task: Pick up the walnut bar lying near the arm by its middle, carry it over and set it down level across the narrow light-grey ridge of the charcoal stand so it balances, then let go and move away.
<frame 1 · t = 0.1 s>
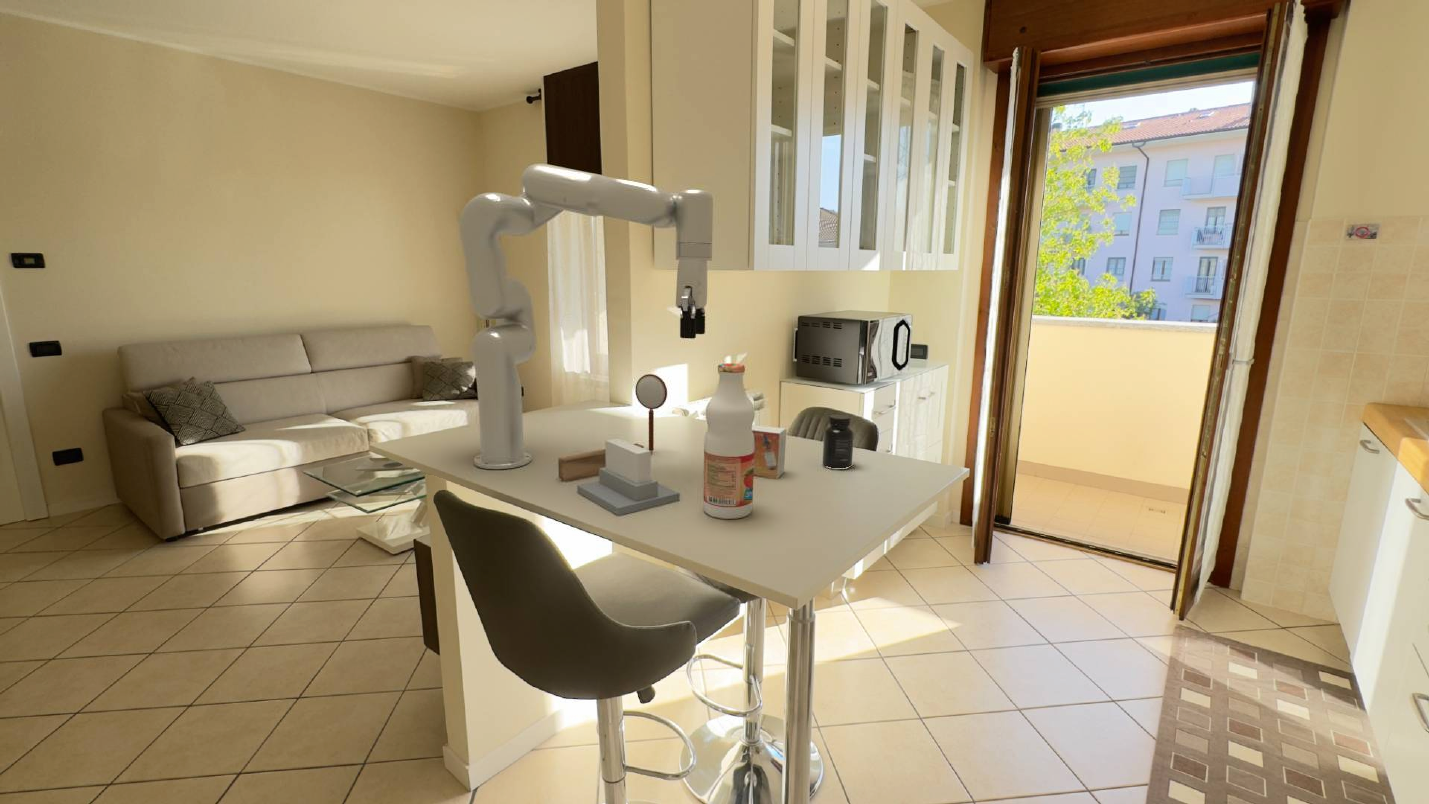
hand: (692, 336, 136), 31 cm above the table, tool pointing down, fingers open, 9 cm apart
fruit juice: (727, 511, 123), on the table
small box: (764, 474, 146), on the table
magnifying glass: (651, 454, 160), on the table
ridge stand: (627, 496, 129), on the table
supplement bottle: (836, 467, 153), on the table
walnut bar: (602, 473, 145), on the table
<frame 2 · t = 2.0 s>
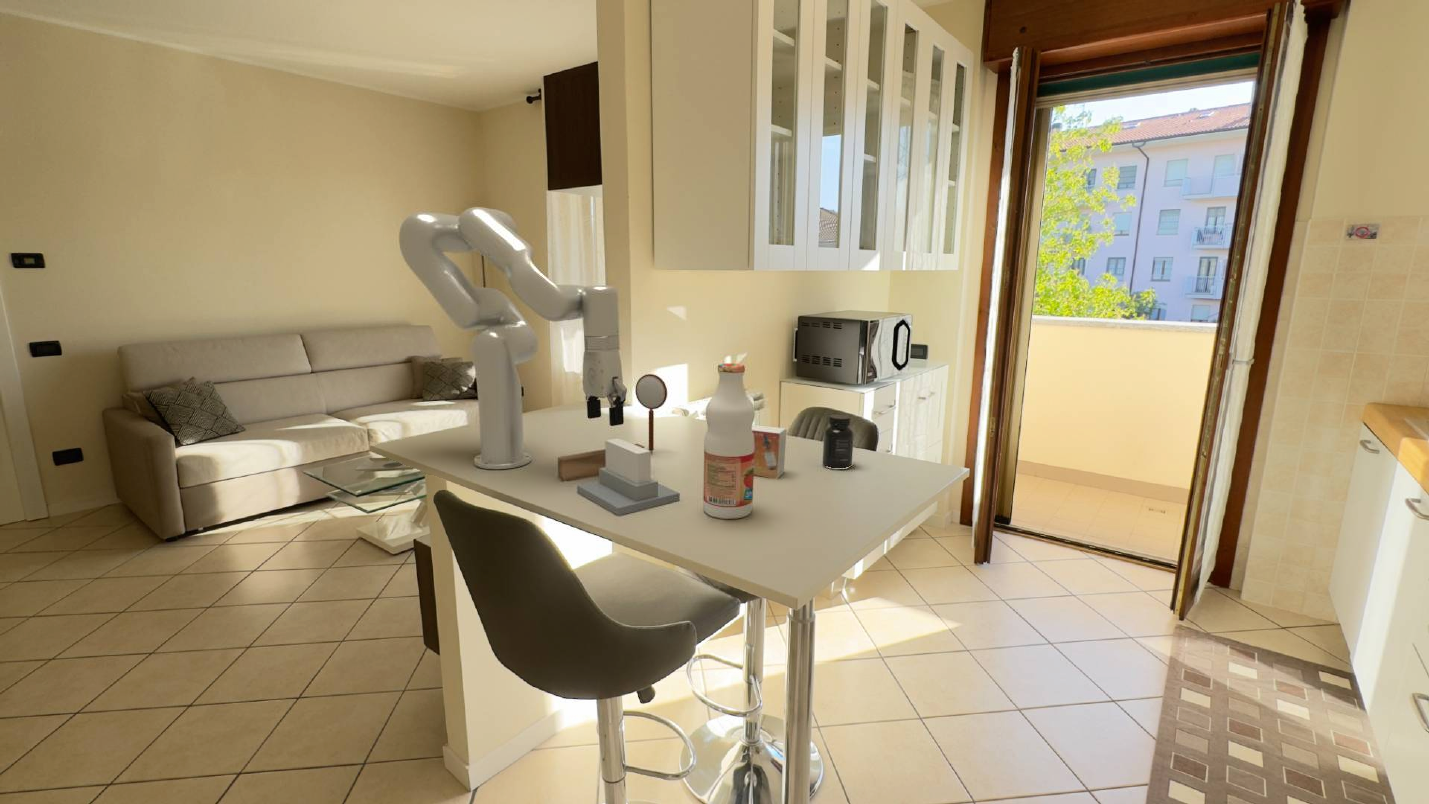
hand: (605, 421, 142), 12 cm above the table, tool pointing down, fingers open, 9 cm apart
nothing on the table moved.
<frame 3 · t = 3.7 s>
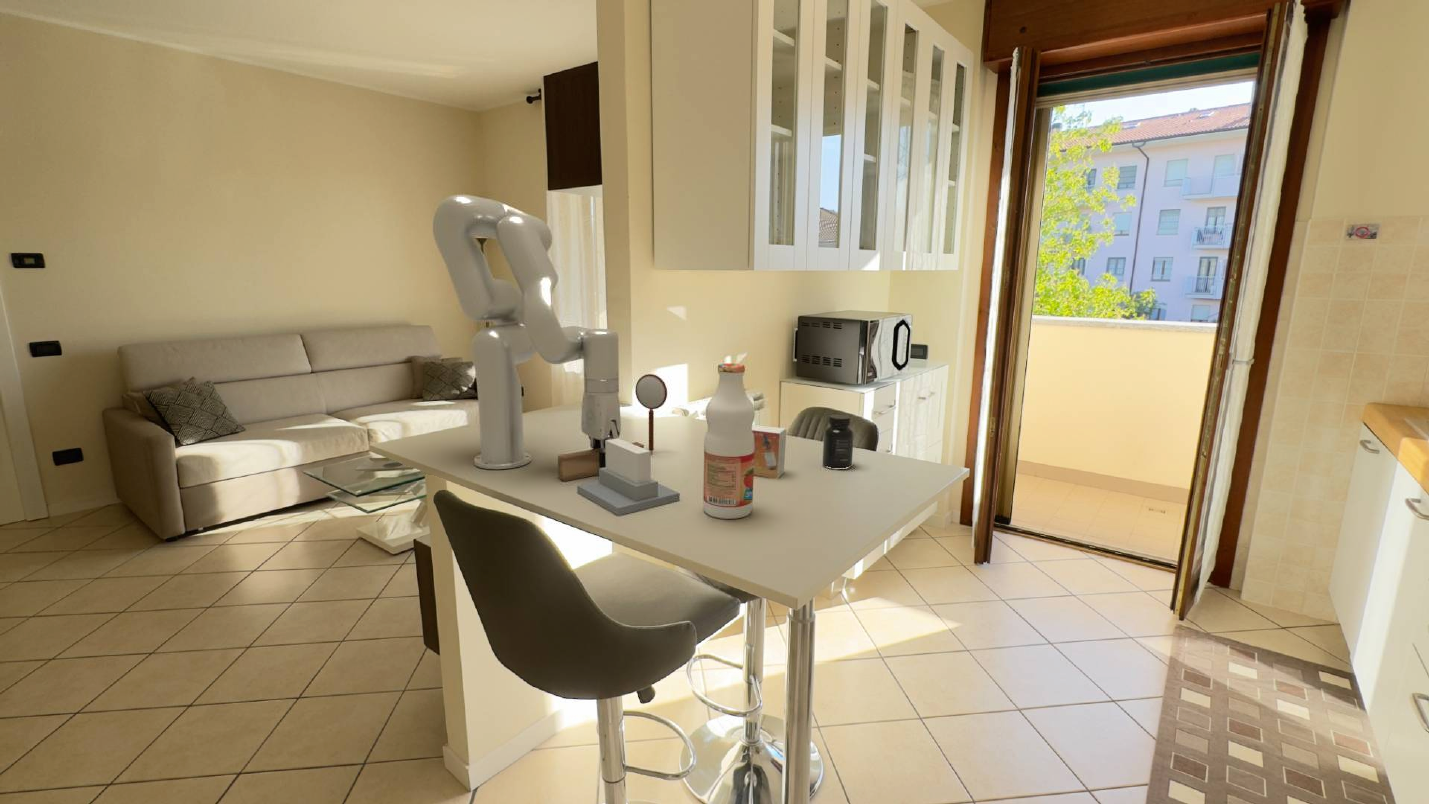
hand: (602, 466, 144), 1 cm above the table, tool pointing down, fingers closed on walnut bar, 2 cm apart
walnut bar: (602, 471, 145), on the table, touching gripper
everything else where it was.
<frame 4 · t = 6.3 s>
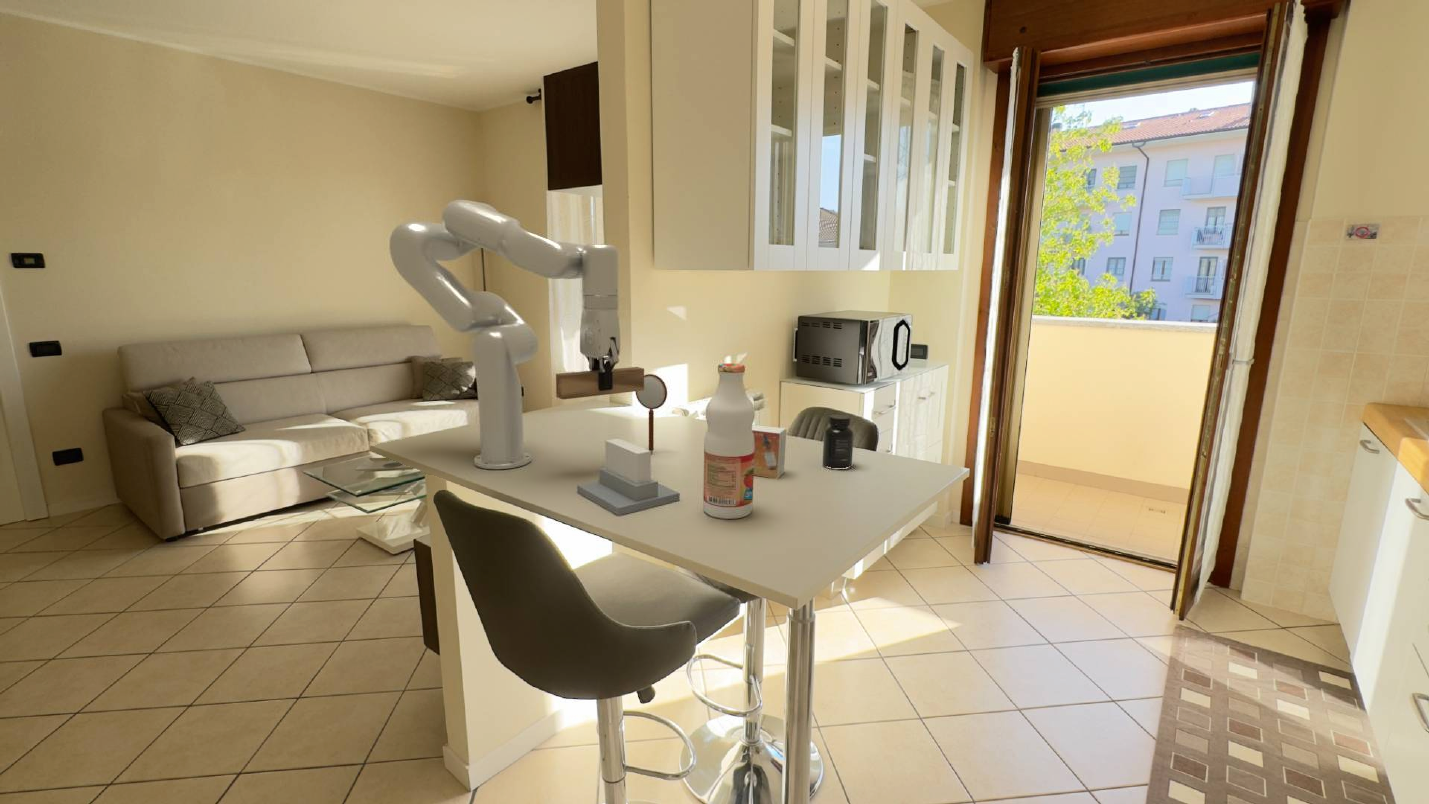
hand: (601, 388, 141), 19 cm above the table, tool pointing down, fingers closed on walnut bar, 2 cm apart
walnut bar: (601, 393, 141), point 18 cm above the table, touching gripper
everything else where it was.
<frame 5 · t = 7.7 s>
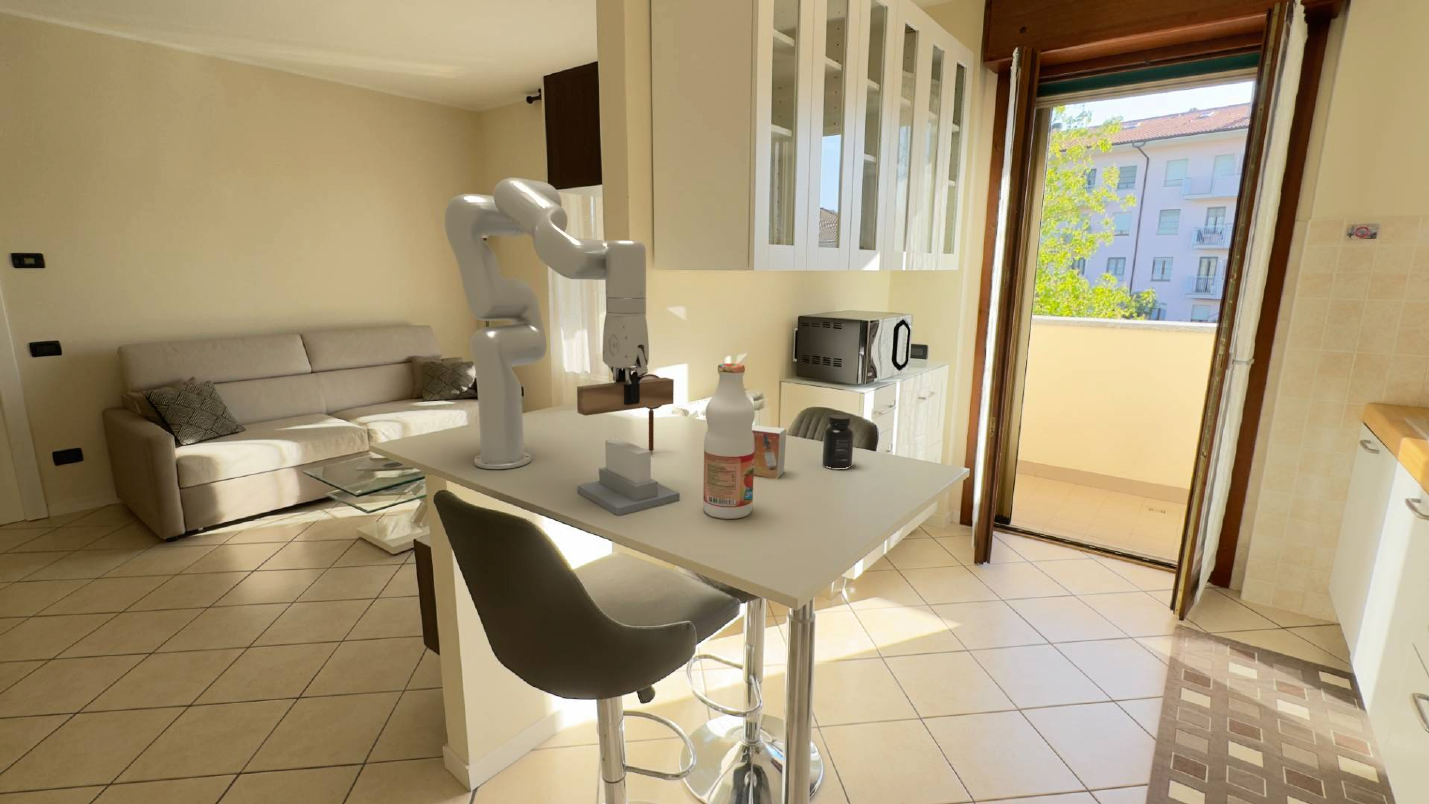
hand: (627, 401, 126), 19 cm above the table, tool pointing down, fingers closed on walnut bar, 2 cm apart
walnut bar: (627, 408, 126), point 18 cm above the table, touching gripper
everything else where it was.
when the fingers open (13 cm above the table, at t = 8.9 s): walnut bar drops 1 cm, resting on ridge stand.
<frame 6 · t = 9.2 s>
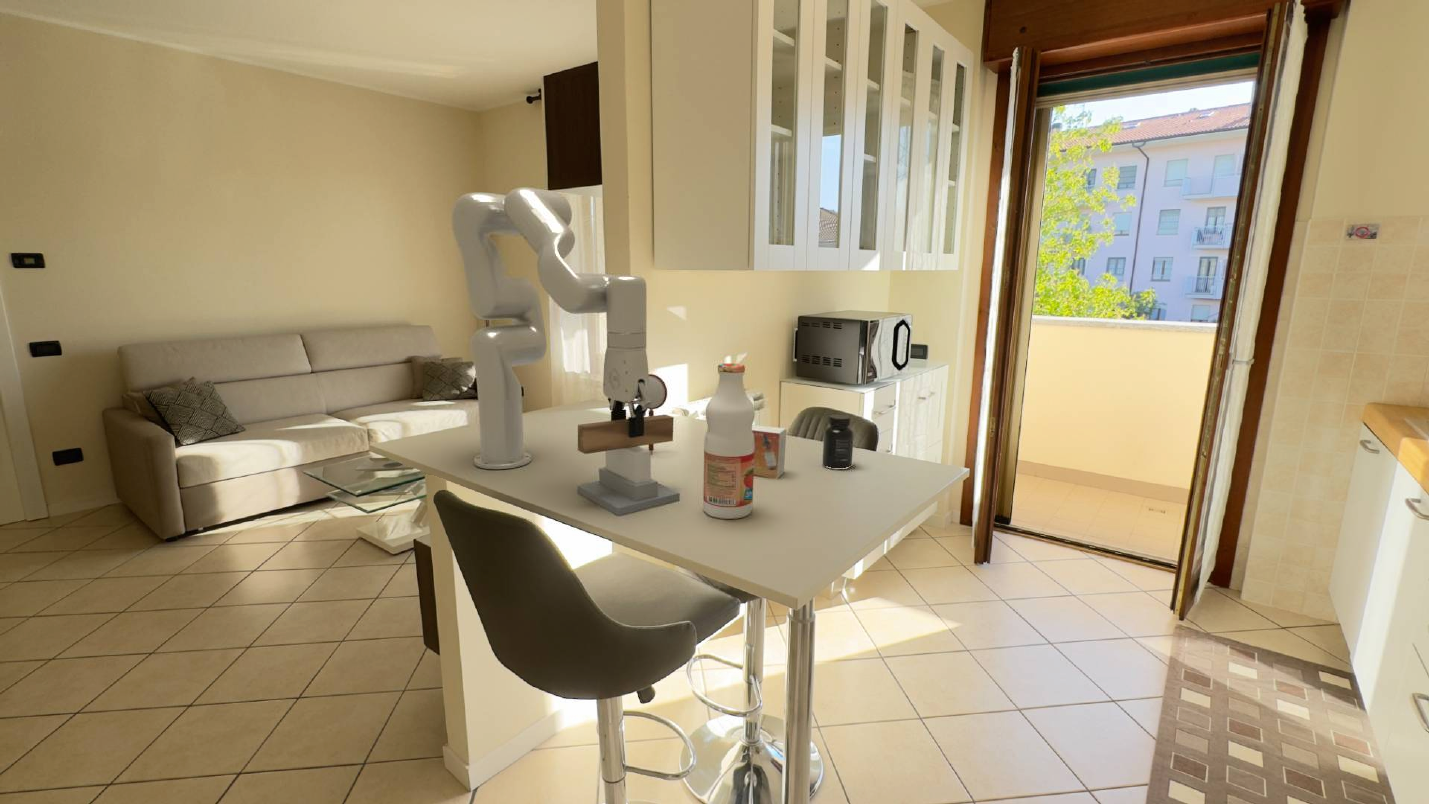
hand: (627, 432, 127), 13 cm above the table, tool pointing down, fingers open, 5 cm apart
walnut bar: (627, 445, 127), point 11 cm above the table, touching ridge stand
everything else where it was.
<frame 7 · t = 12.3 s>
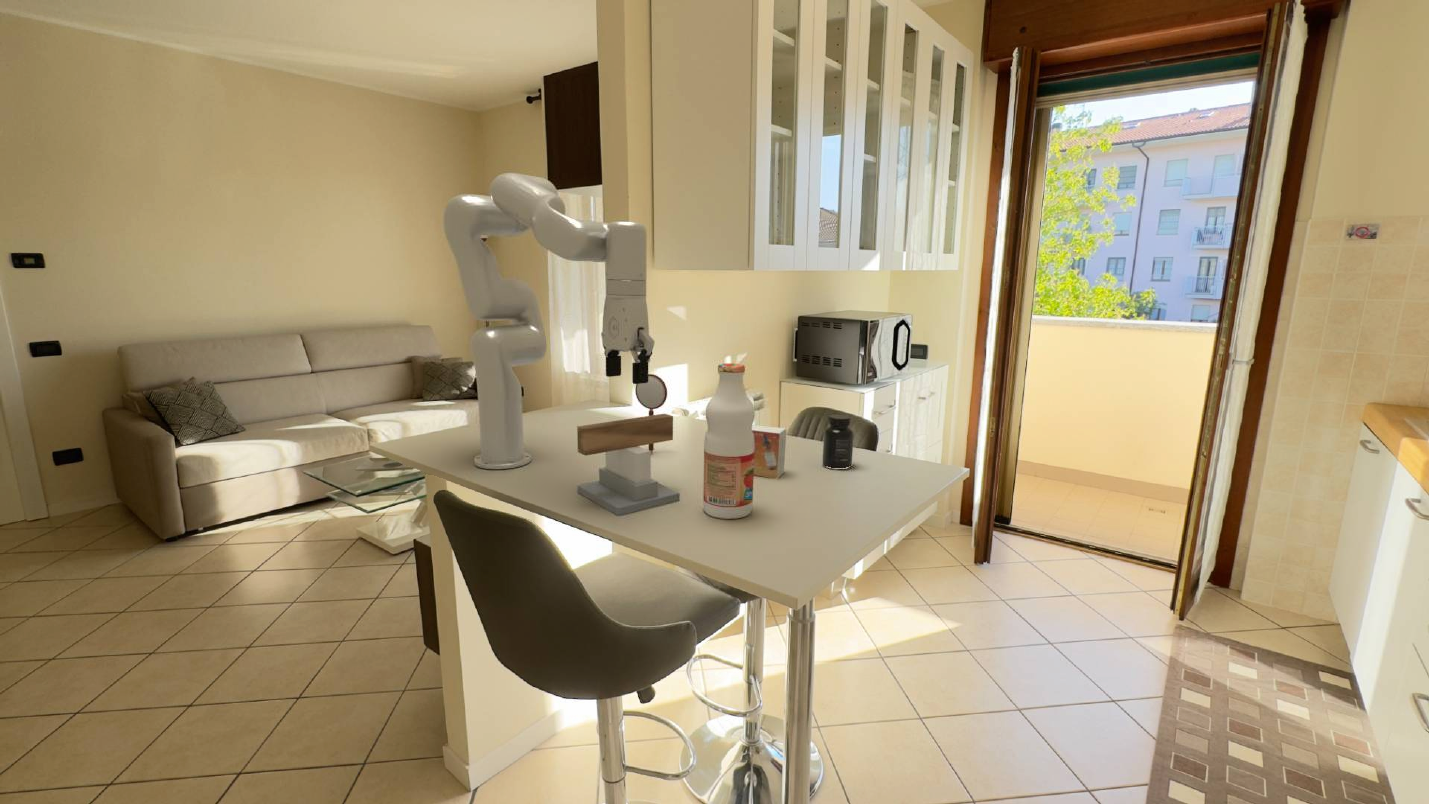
hand: (626, 379, 125), 24 cm above the table, tool pointing down, fingers open, 9 cm apart
nothing on the table moved.
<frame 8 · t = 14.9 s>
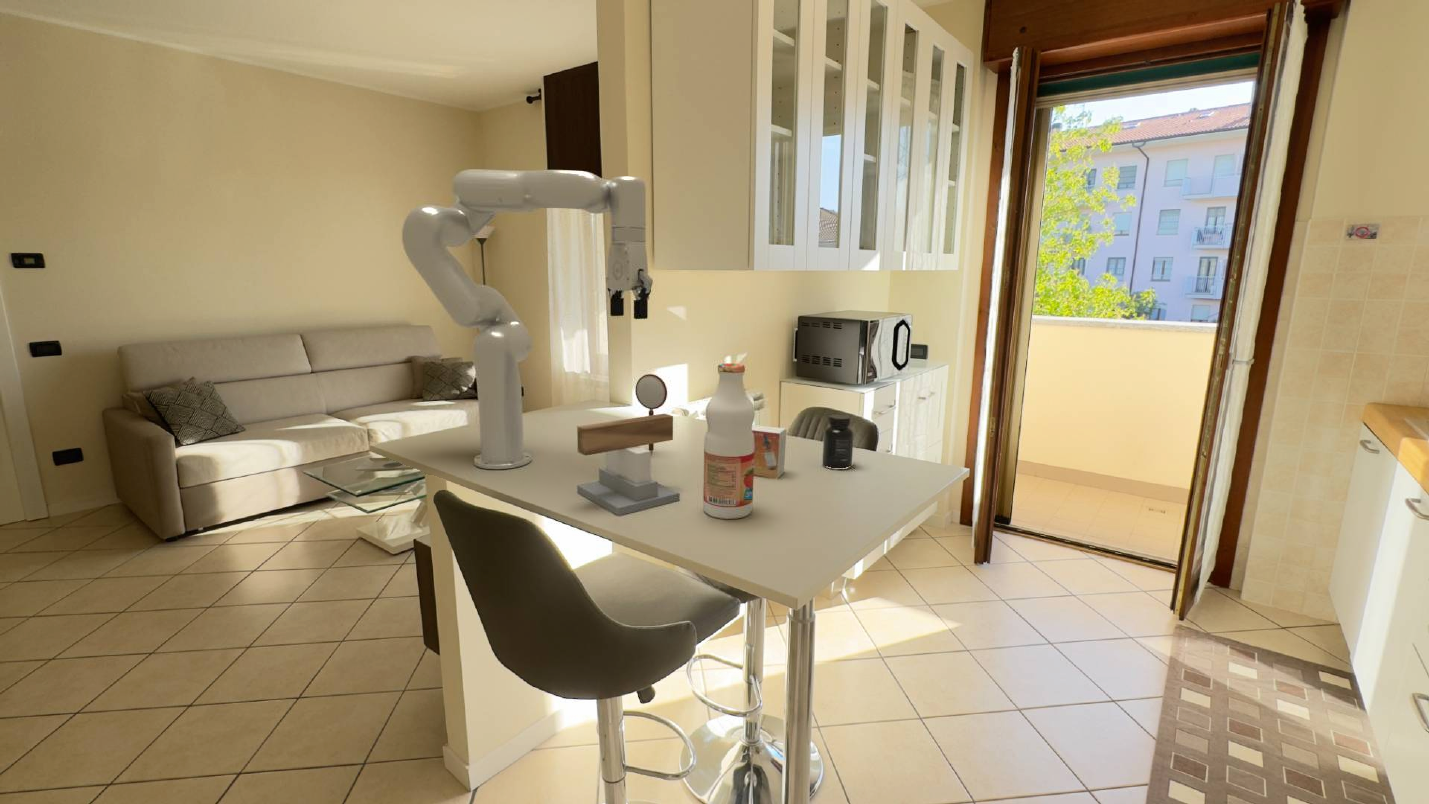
hand: (628, 317, 142), 34 cm above the table, tool pointing down, fingers open, 9 cm apart
nothing on the table moved.
at the end: walnut bar 0.0 cm off-centre on the ridge stand, point 10.5 cm above the ridge stand's base; walnut bar tilted 0°; the gripper is holding nothing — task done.
